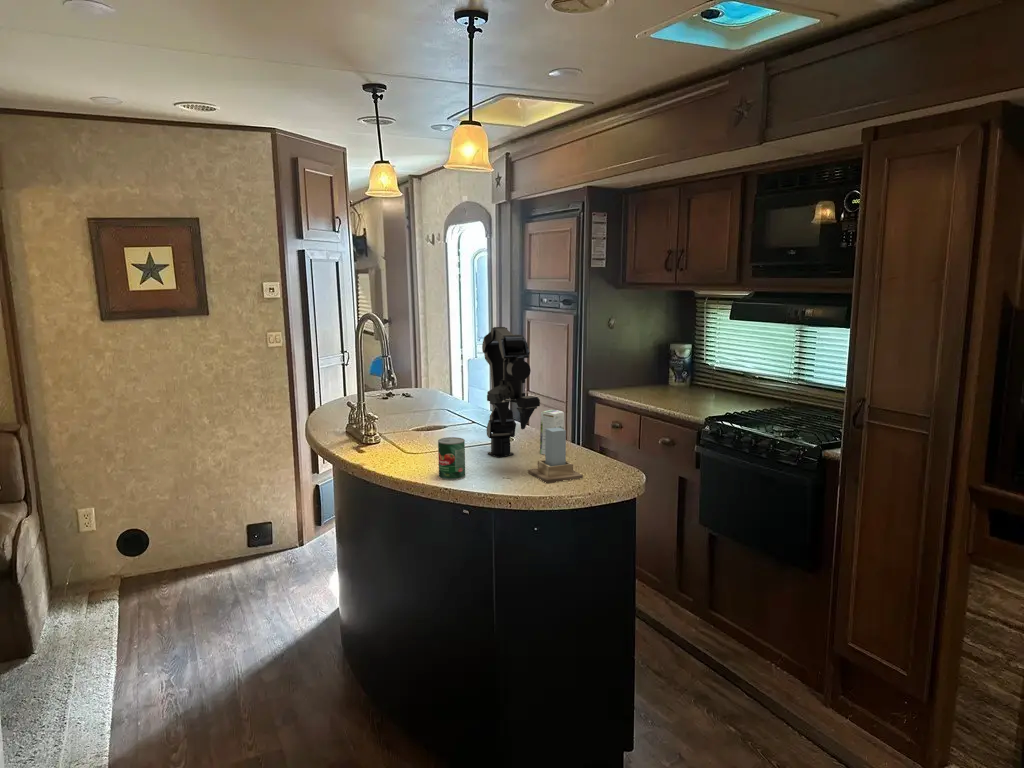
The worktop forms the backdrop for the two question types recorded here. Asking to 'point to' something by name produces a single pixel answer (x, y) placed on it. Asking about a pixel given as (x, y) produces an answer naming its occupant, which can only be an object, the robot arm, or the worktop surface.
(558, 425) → the syrup box
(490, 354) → the robot arm
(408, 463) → the worktop surface
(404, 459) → the worktop surface
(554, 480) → the pocket board
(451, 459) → the canned tomato
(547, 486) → the worktop surface
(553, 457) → the slate peg
